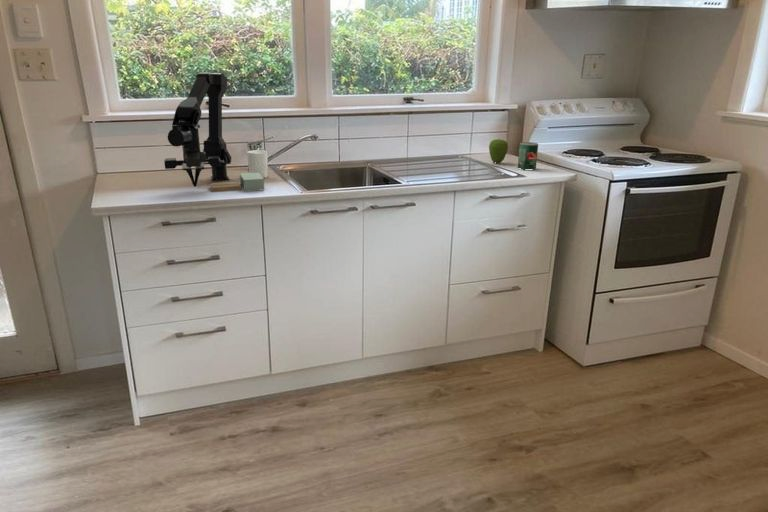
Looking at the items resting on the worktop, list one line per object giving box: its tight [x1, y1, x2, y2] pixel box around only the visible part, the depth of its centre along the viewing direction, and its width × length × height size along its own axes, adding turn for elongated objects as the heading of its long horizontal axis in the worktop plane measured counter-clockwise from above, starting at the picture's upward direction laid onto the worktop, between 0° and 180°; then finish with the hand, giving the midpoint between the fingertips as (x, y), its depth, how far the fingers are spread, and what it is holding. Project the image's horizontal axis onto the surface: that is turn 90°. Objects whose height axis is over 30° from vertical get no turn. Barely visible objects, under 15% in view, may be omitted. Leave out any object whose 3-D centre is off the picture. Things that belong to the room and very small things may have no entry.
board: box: [210, 181, 242, 193], centre depth 212 cm, size 7×10×2 cm
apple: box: [488, 138, 509, 164], centre depth 266 cm, size 9×8×12 cm
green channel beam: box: [239, 172, 265, 192], centre depth 215 cm, size 12×7×4 cm, turn 20°
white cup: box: [246, 149, 269, 179], centre depth 232 cm, size 8×8×10 cm
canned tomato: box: [517, 141, 539, 170], centre depth 255 cm, size 8×8×11 cm
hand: (195, 186), depth 209 cm, fingers closed
